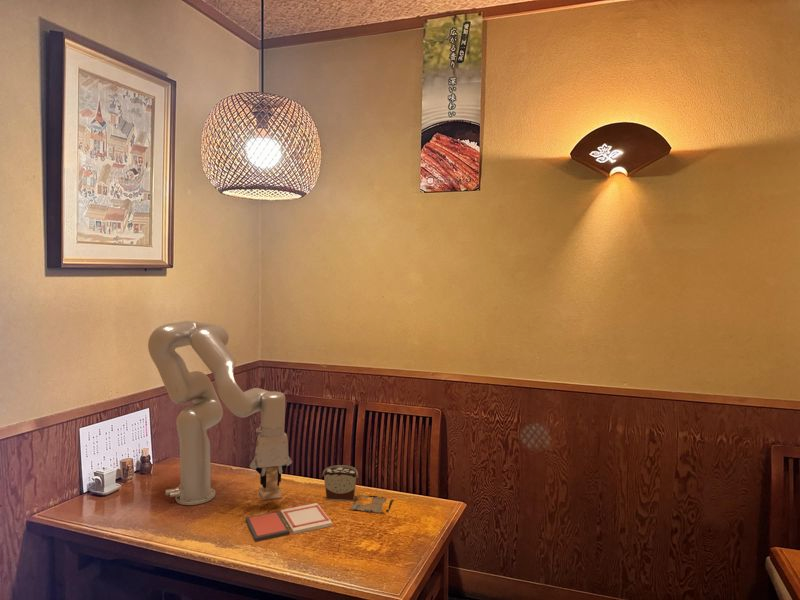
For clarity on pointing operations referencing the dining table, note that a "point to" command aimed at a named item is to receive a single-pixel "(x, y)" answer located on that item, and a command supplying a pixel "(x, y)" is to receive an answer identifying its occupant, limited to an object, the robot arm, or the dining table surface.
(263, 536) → the ink pad
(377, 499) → the parchment
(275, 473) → the stamp
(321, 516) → the marked board
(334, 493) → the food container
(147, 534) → the dining table surface
